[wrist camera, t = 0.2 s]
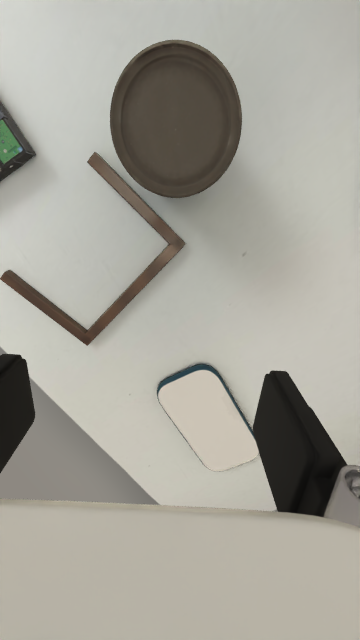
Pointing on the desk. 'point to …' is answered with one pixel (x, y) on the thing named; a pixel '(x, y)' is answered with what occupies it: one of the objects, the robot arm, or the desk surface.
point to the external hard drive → (208, 417)
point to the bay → (133, 289)
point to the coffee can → (175, 118)
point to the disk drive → (12, 145)
